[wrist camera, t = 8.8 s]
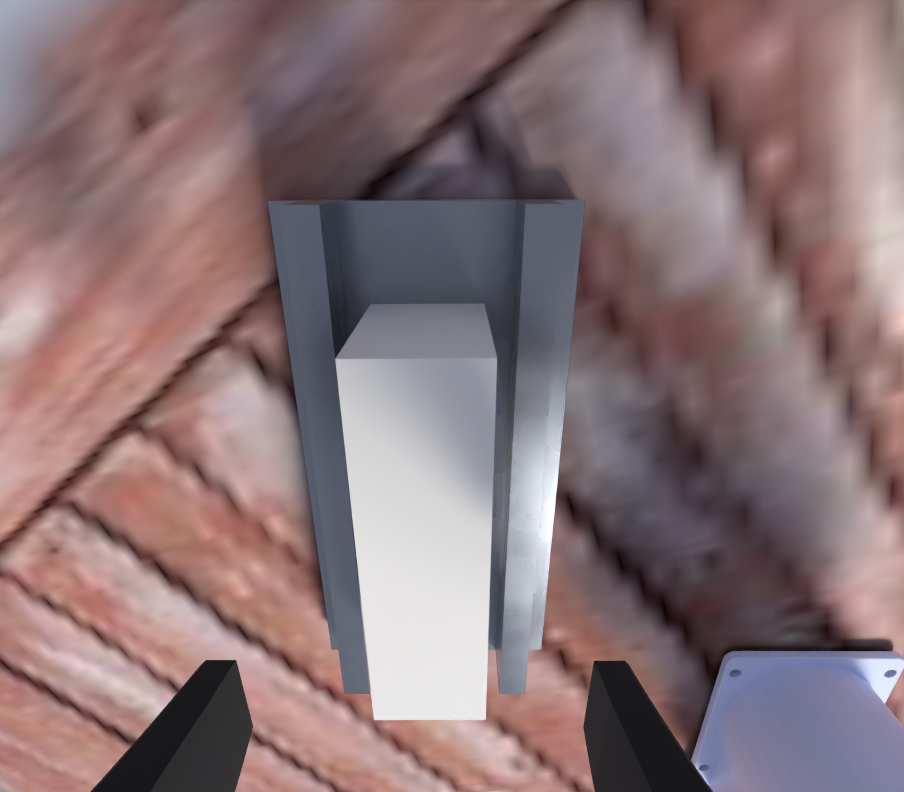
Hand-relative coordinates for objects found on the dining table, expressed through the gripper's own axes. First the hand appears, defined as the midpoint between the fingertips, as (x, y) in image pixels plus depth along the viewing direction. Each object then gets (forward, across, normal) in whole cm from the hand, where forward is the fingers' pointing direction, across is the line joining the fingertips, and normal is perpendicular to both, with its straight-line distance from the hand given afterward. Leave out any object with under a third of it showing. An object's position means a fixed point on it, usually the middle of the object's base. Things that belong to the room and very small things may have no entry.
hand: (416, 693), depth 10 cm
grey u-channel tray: (+9, 0, 0) cm, 9 cm away
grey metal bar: (+8, 0, 0) cm, 8 cm away
